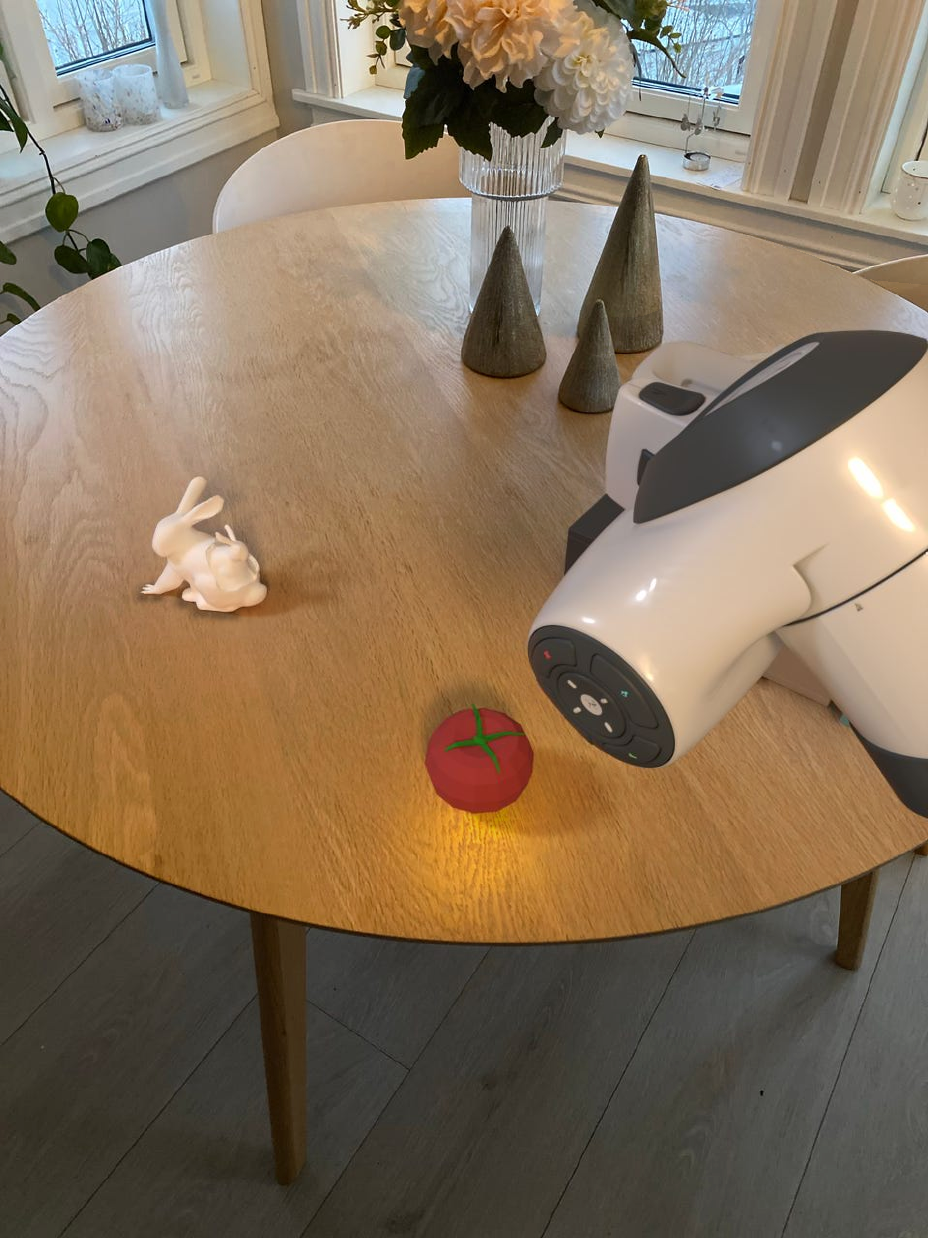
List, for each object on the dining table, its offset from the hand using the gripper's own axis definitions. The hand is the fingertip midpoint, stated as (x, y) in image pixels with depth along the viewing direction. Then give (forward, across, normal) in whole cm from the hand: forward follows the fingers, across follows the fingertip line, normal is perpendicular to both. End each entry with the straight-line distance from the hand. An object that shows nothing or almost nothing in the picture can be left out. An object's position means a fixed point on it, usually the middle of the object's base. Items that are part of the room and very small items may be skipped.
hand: (871, 383), depth 53 cm
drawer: (+12, -1, +31) cm, 33 cm away
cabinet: (+12, +13, +32) cm, 36 cm away
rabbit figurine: (-12, +48, +32) cm, 59 cm away
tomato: (-16, +15, +32) cm, 39 cm away
